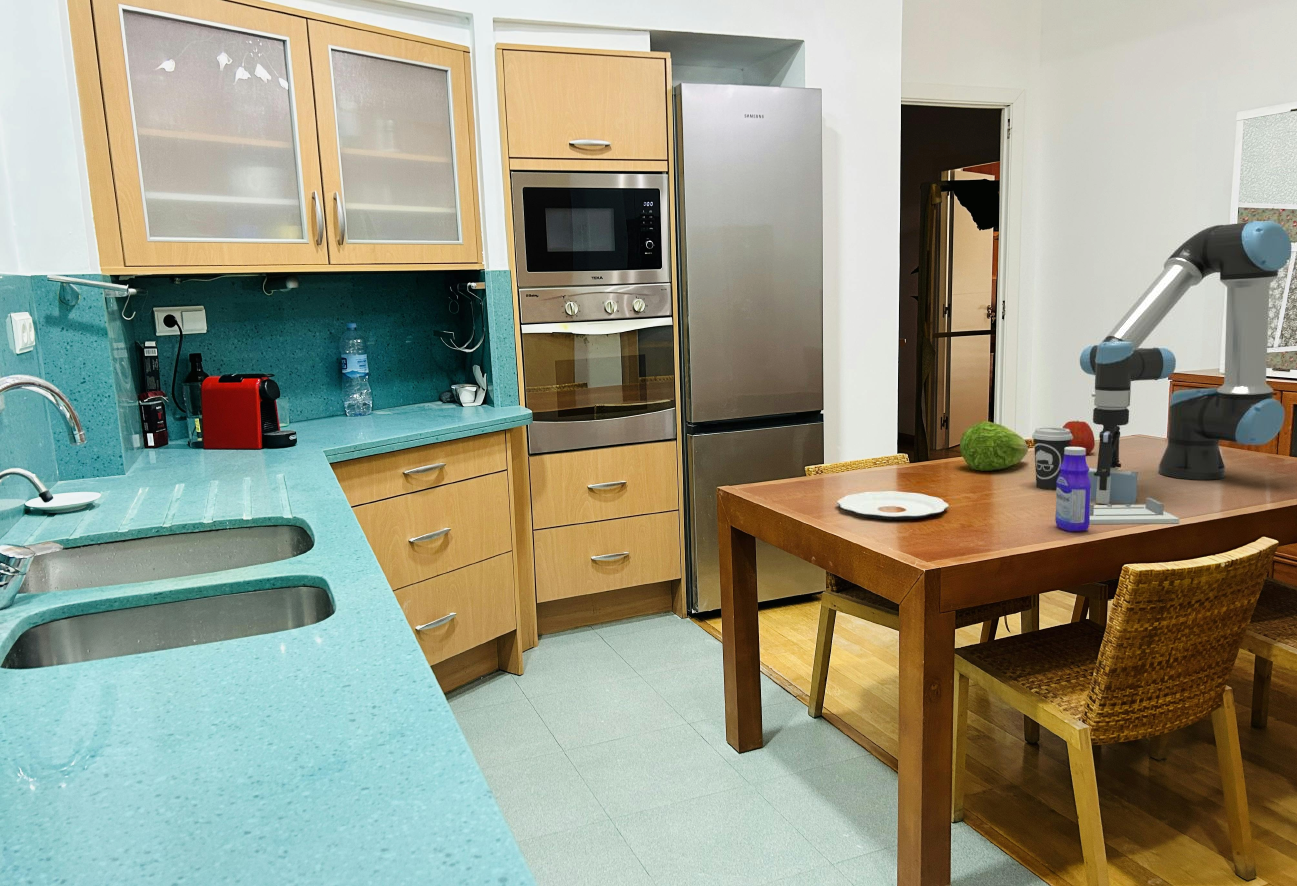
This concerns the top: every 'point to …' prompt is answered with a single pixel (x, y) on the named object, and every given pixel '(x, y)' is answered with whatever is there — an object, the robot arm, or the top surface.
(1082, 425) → the apple
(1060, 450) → the coffee cup
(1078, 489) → the bottle
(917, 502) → the plate
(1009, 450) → the lettuce
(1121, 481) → the frame block
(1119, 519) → the wall board
